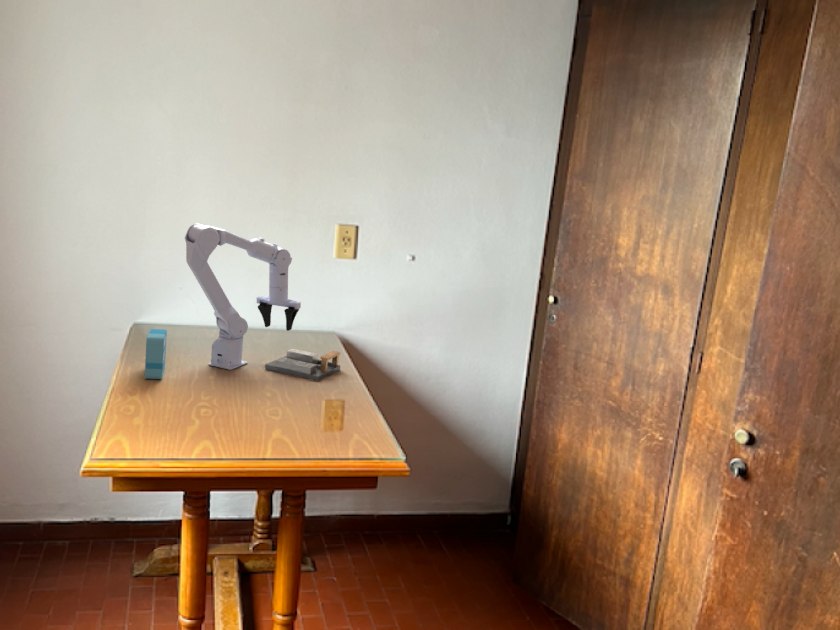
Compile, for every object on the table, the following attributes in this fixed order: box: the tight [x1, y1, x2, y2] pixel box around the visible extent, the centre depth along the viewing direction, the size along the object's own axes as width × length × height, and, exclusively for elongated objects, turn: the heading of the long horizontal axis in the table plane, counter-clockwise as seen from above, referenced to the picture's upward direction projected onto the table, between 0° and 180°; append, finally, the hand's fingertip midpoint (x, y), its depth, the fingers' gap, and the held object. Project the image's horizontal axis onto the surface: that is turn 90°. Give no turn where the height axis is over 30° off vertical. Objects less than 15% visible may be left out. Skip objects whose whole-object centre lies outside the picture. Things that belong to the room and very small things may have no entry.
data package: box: [144, 328, 168, 380], centre depth 219 cm, size 12×4×12 cm, turn 14°
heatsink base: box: [264, 350, 341, 382], centre depth 240 cm, size 15×18×6 cm
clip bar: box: [286, 348, 319, 364], centre depth 243 cm, size 4×9×3 cm, turn 70°
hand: (278, 328), depth 245 cm, fingers open, 7 cm apart
